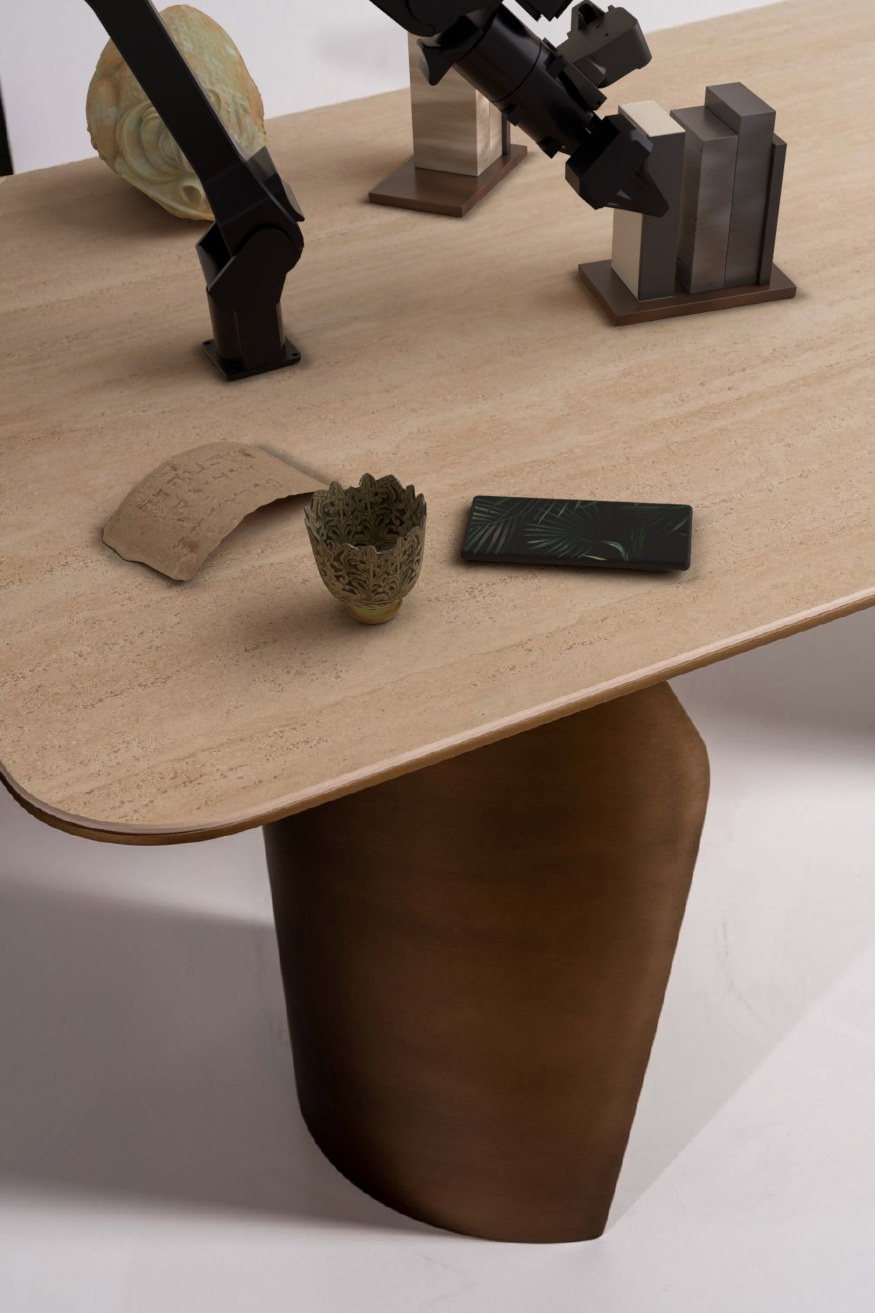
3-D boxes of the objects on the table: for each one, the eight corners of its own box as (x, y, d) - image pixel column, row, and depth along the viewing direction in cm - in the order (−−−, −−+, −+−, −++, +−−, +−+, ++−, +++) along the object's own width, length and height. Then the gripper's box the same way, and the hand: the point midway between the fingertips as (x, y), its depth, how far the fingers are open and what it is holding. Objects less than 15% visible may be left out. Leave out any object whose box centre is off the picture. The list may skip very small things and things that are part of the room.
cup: (330, 658, 87) (318, 554, 82) (304, 588, 92) (291, 486, 87) (446, 633, 88) (441, 528, 83) (415, 565, 94) (408, 463, 88)
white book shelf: (462, 217, 134) (457, 53, 124) (368, 202, 138) (357, 42, 128) (527, 155, 145) (527, 0, 135) (439, 142, 149) (433, -10, 139)
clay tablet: (189, 591, 92) (183, 558, 91) (93, 534, 98) (85, 502, 96) (344, 492, 100) (341, 460, 99) (247, 445, 106) (242, 413, 104)
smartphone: (473, 493, 98) (693, 503, 96) (473, 505, 99) (692, 515, 96) (458, 552, 93) (690, 564, 91) (459, 564, 94) (689, 576, 91)
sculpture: (46, 226, 139) (143, 201, 124) (44, 11, 137) (143, -41, 121) (201, 247, 150) (308, 226, 135) (202, 49, 148) (312, 5, 132)
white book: (639, 302, 118) (649, 135, 109) (610, 266, 123) (617, 104, 114) (673, 297, 118) (686, 130, 109) (643, 261, 124) (653, 99, 114)
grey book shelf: (616, 326, 117) (625, 140, 107) (577, 274, 124) (582, 95, 114) (795, 296, 120) (821, 112, 110) (747, 247, 127) (766, 70, 117)
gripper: (631, 16, 97) (765, 152, 106) (547, -55, 110) (672, 71, 119) (522, 146, 101) (659, 267, 110) (454, 62, 114) (581, 176, 123)
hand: (644, 189), depth 115 cm, fingers open, 9 cm apart
